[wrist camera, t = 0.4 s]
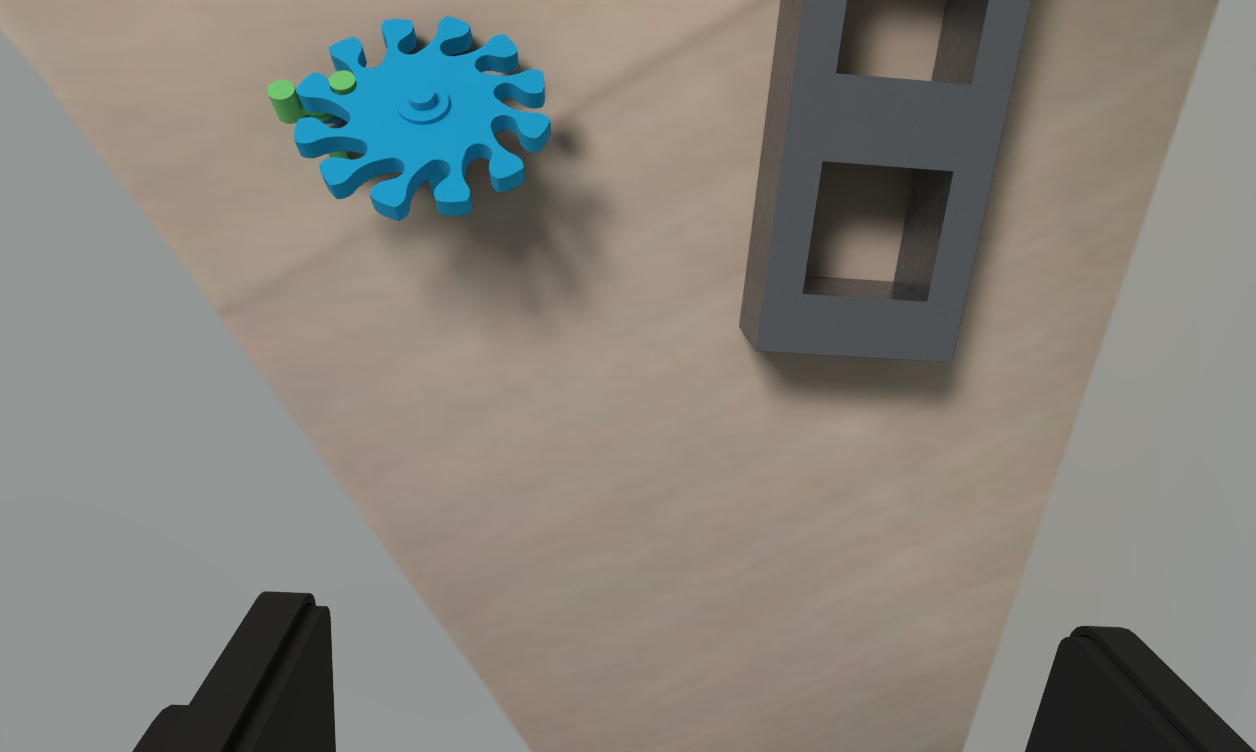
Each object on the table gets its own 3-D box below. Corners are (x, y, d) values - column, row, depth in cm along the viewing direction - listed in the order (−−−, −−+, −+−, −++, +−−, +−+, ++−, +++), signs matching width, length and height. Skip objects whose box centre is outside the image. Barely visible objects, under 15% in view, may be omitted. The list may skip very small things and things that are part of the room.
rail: (799, -144, 33) (827, -175, 29) (1009, -122, 34) (1063, -149, 30) (739, 326, 39) (756, 350, 36) (916, 337, 40) (951, 362, 36)
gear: (574, 27, 33) (516, 219, 29) (574, 130, 38) (525, 305, 34) (313, -20, 33) (215, 163, 29) (348, 88, 39) (270, 257, 34)
